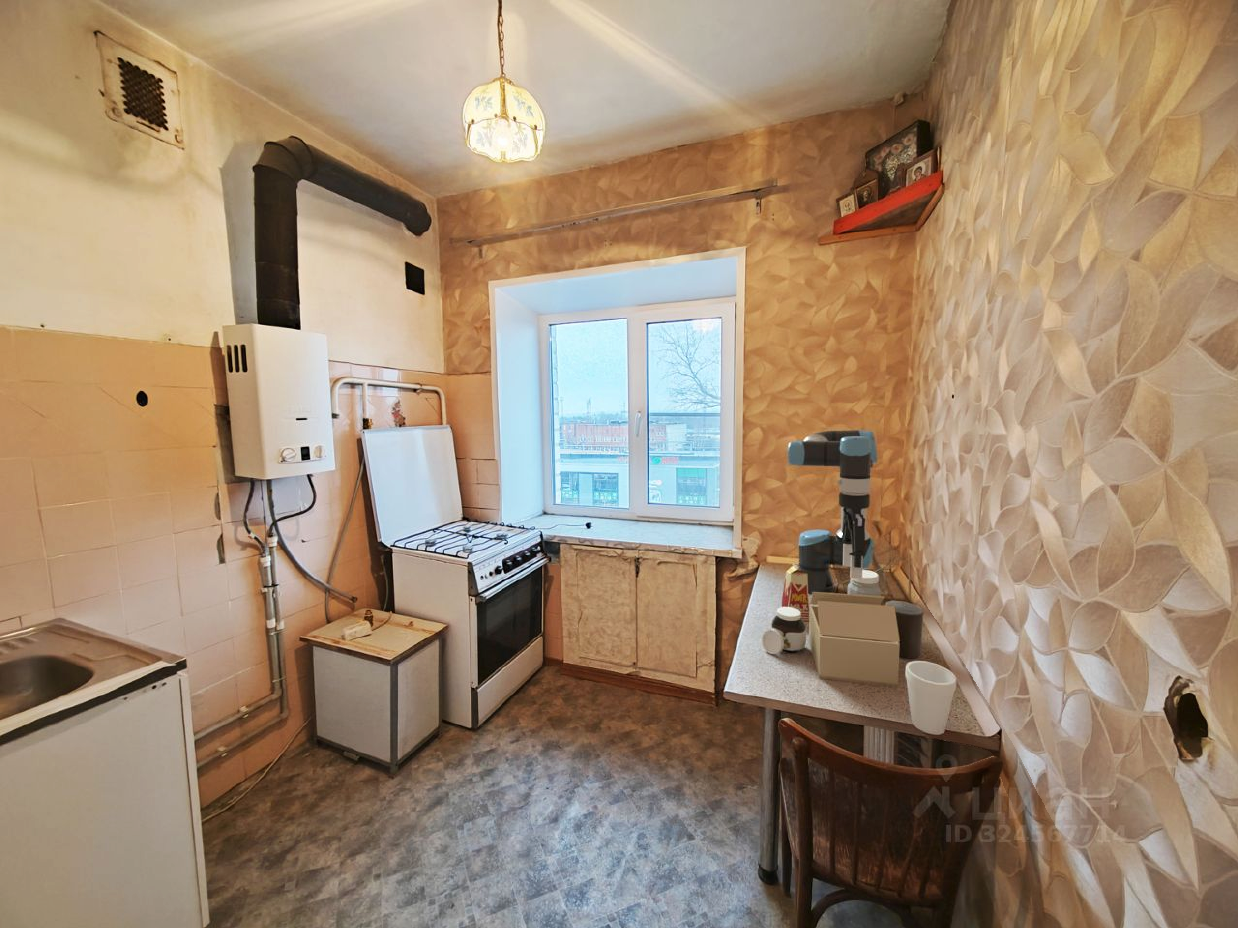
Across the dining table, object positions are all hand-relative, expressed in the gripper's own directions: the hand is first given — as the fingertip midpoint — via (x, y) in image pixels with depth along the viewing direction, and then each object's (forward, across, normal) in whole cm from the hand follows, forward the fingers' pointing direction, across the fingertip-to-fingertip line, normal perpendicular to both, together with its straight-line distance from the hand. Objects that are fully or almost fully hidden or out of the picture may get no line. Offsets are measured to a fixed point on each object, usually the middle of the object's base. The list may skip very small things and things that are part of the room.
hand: (852, 571), depth 126 cm
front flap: (+11, +7, 0) cm, 13 cm away
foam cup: (+28, +23, +12) cm, 38 cm away
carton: (+27, -1, 0) cm, 27 cm away
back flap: (+12, -7, 0) cm, 14 cm away
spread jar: (+28, -4, -17) cm, 33 cm away
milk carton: (+28, -27, -12) cm, 40 cm away
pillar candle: (+28, -11, +16) cm, 34 cm away
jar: (+28, -26, +10) cm, 39 cm away
